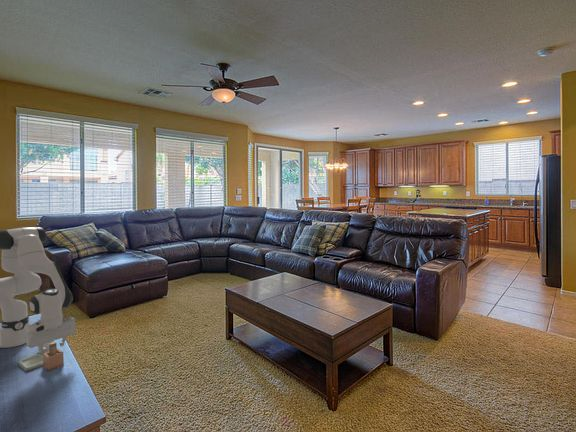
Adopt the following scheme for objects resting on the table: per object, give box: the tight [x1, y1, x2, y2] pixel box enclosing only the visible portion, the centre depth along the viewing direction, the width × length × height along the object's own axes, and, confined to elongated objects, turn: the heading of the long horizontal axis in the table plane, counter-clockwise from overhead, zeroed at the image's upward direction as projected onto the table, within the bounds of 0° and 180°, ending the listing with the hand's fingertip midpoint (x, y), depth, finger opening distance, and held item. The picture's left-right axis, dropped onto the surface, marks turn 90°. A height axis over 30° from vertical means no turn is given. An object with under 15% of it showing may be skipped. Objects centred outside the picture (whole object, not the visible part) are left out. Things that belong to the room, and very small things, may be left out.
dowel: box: [49, 341, 58, 356], centre depth 157 cm, size 3×3×11 cm
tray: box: [17, 352, 44, 373], centre depth 160 cm, size 12×9×2 cm
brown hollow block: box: [42, 348, 65, 372], centre depth 158 cm, size 6×6×7 cm
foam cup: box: [36, 340, 55, 354], centre depth 173 cm, size 10×9×13 cm
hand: (53, 348), depth 157 cm, fingers open, 6 cm apart
